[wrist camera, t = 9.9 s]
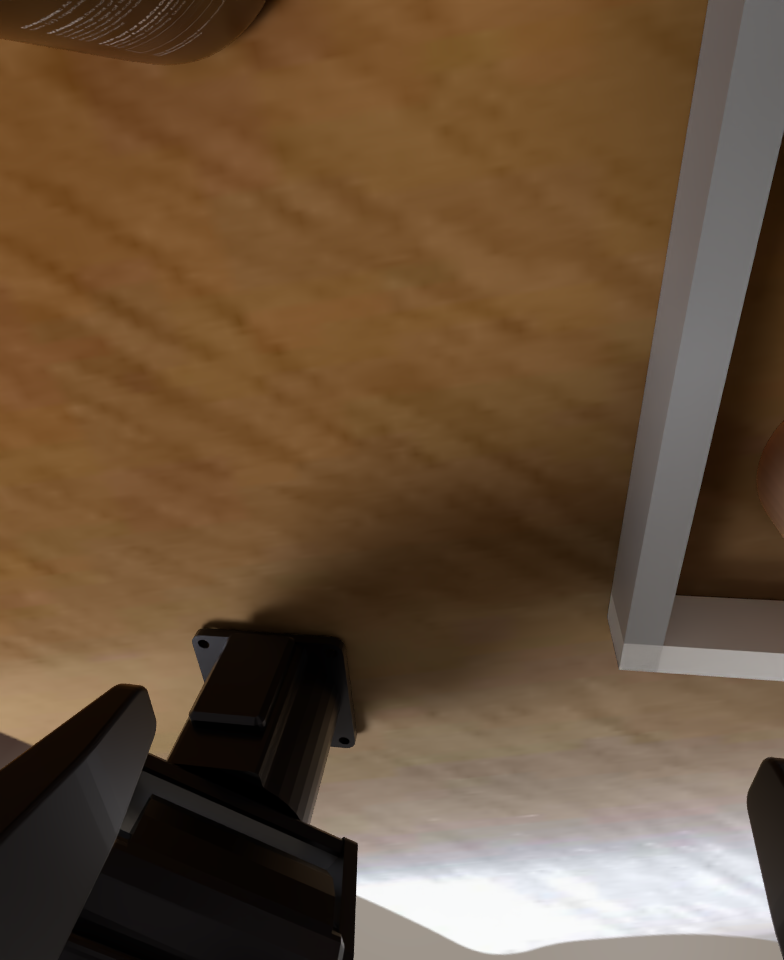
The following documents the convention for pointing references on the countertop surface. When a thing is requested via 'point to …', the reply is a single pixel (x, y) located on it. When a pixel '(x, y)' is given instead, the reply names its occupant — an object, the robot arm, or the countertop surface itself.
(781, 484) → the terracotta jar
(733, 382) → the countertop surface
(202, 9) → the supplement bottle
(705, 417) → the pusher lane
